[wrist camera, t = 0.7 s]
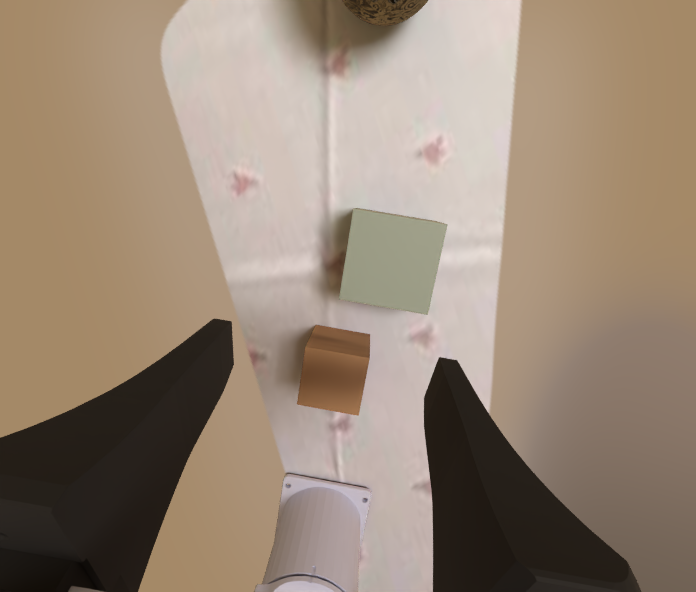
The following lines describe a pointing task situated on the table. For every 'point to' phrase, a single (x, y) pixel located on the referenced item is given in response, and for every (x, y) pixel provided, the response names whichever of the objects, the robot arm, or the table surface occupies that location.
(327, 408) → the walnut block
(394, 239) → the grey block
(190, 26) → the table surface
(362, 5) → the cup
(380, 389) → the table surface
